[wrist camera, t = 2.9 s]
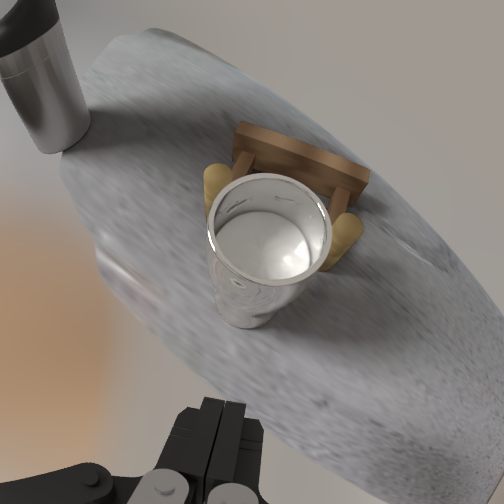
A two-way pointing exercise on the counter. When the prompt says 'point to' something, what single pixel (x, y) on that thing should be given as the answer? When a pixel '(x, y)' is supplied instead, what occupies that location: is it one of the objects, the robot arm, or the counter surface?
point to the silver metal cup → (264, 246)
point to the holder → (296, 178)
